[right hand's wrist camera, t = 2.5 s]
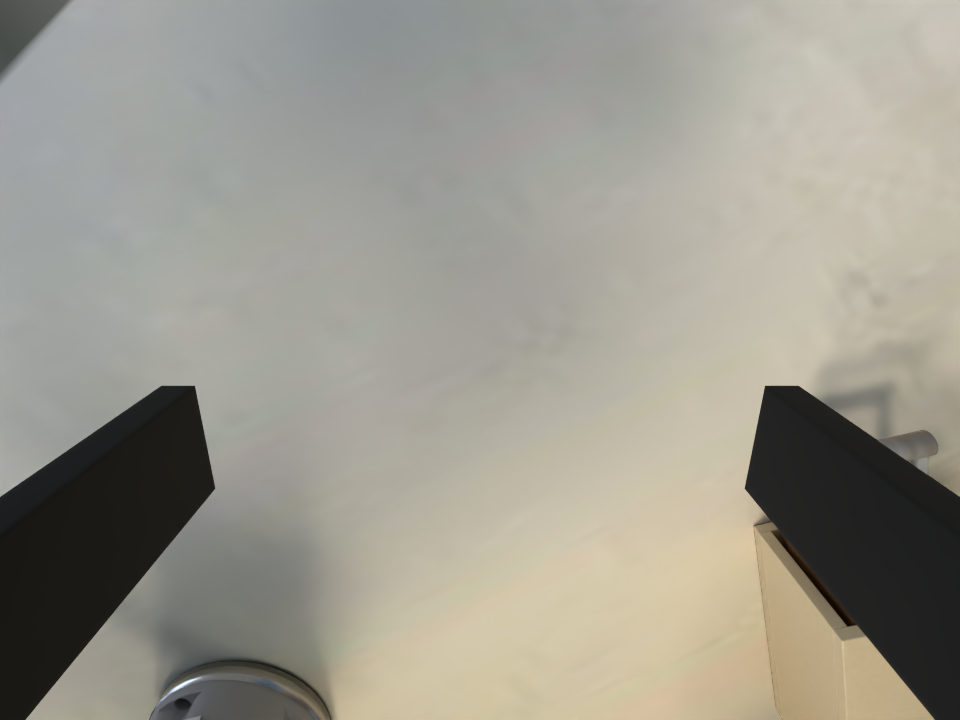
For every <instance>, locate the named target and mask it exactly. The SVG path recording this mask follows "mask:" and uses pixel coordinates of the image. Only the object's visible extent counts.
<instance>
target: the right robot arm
mask: <svg viewBox="0 0 960 720" xmlns="http://www.w3.org/2000/svg"><path fill="white" fill-rule="evenodd" d="M214 489H215V485H214V480H213V475H212V470H211V465H210V460H209V455H208V450H207V445H206V440H205V435H204V430H203V425H202V420H201V415H200V410H199V405H198V400H197V394H196V389H195V386H161V387H159V388H158V389H156V390H155V391H153V392H152V393H150V394H149V395H148V396H146V397H145V398H143V399H142V400H140V401H139V402H137V403H136V404H135V405H133V406H132V407H130V408H129V409H127V410H126V411H124V412H123V413H121V414H120V415H119V416H117V417H116V418H114V419H113V420H111V421H110V422H108V423H107V424H106V425H104V426H103V427H101V428H100V429H98V430H97V431H95V432H94V433H92V434H91V435H90V436H88V437H87V438H85V439H84V440H82V441H81V442H79V443H78V444H77V445H75V446H74V447H72V448H71V449H69V450H68V451H66V452H65V453H63V454H62V455H61V456H59V457H58V458H56V459H55V460H53V461H52V462H50V463H49V464H48V465H46V466H45V467H43V468H42V469H40V470H39V471H37V472H36V473H34V474H33V475H32V476H30V477H29V478H27V479H26V480H24V481H23V482H21V483H20V484H19V485H17V486H16V487H14V488H13V489H11V490H10V491H8V492H7V493H5V494H4V495H3V496H1V497H0V720H25V719H26V718H27V717H28V716H29V715H30V713H31V712H32V711H33V710H34V709H35V707H36V706H37V705H38V704H39V702H40V701H41V700H42V699H43V698H44V696H45V695H46V694H47V693H48V691H49V690H50V689H51V688H52V687H53V685H54V684H55V683H56V682H57V681H58V679H59V678H60V677H61V676H62V674H63V673H64V672H65V671H66V670H67V668H68V667H69V666H70V665H71V663H72V662H73V661H74V660H75V659H76V657H77V656H78V655H79V654H80V653H81V651H82V650H83V649H84V648H85V646H86V645H87V644H88V643H89V642H90V640H91V639H92V638H93V637H94V635H95V634H96V633H97V632H98V631H99V629H100V628H101V627H102V626H103V625H104V623H105V622H106V621H107V620H108V618H109V617H110V616H111V615H112V614H113V612H114V611H115V610H116V609H117V607H118V606H119V605H120V604H121V603H122V601H123V600H124V599H125V598H126V597H127V595H128V594H129V593H130V592H131V590H132V589H133V588H134V587H135V586H136V584H137V583H138V582H139V581H140V579H141V578H142V577H143V576H144V575H145V573H146V572H147V571H148V570H149V569H150V567H151V566H152V565H153V564H154V562H155V561H156V560H157V559H158V558H159V556H160V555H161V554H162V553H163V551H164V550H165V549H166V548H167V547H168V545H169V544H170V543H171V542H172V541H173V539H174V538H175V537H176V536H177V534H178V533H179V532H180V531H181V530H182V528H183V527H184V526H185V525H186V524H187V522H188V521H189V520H190V519H191V517H192V516H193V515H194V514H195V513H196V511H197V510H198V509H199V508H200V506H201V505H202V504H203V503H204V502H205V500H206V499H207V498H208V497H209V496H210V494H211V493H212V492H213V491H214ZM745 489H746V491H747V492H748V493H749V494H750V496H751V497H752V498H753V499H754V500H755V502H756V503H757V504H758V505H759V506H760V508H761V509H762V510H763V511H764V513H765V514H766V515H767V516H768V517H769V519H770V520H771V521H772V522H773V524H774V525H775V526H776V527H777V528H778V530H779V531H780V532H781V533H782V534H783V536H784V537H785V538H786V539H787V541H788V542H789V543H790V544H791V545H792V547H793V548H794V549H795V550H796V551H797V553H798V554H799V555H800V556H801V558H802V559H803V560H804V561H805V562H806V564H807V565H808V566H809V567H810V569H811V570H812V571H813V572H814V573H815V575H816V576H817V577H818V578H819V579H820V581H821V582H822V583H823V584H824V586H825V587H826V588H827V589H828V590H829V592H830V593H831V594H832V595H833V597H834V598H835V599H836V600H837V601H838V603H839V604H840V605H841V606H842V607H843V609H844V610H845V611H846V612H847V614H848V615H849V616H850V617H851V618H852V620H853V621H854V622H855V623H856V625H857V626H858V627H859V628H860V629H861V631H862V632H863V633H864V634H865V635H866V637H867V638H868V639H869V640H870V642H871V643H872V644H873V645H874V646H875V648H876V649H877V650H878V651H879V653H880V654H881V655H882V656H883V657H884V659H885V660H886V661H887V662H888V663H889V665H890V666H891V667H892V668H893V670H894V671H895V672H896V673H897V674H898V676H899V677H900V678H901V679H902V681H903V682H904V683H905V684H906V685H907V687H908V688H909V689H910V690H911V691H912V693H913V694H914V695H915V696H916V698H917V699H918V700H919V701H920V702H921V704H922V705H923V706H924V707H925V709H926V710H927V711H928V712H929V713H930V715H931V716H932V717H933V718H934V719H935V720H960V497H959V496H957V495H956V494H955V493H953V492H952V491H950V490H949V489H947V488H946V487H944V486H943V485H941V484H940V483H939V482H937V481H936V480H934V479H933V478H931V477H930V476H928V475H927V474H926V473H924V472H923V471H921V470H920V469H918V468H917V467H915V466H914V465H912V464H911V463H910V462H908V461H907V460H905V459H904V458H902V457H901V456H899V455H898V454H897V453H895V452H894V451H892V450H891V449H889V448H888V447H886V446H885V445H883V444H882V443H881V442H879V441H878V440H876V439H875V438H873V437H872V436H870V435H869V434H868V433H866V432H865V431H863V430H862V429H860V428H859V427H857V426H856V425H854V424H853V423H852V422H850V421H849V420H847V419H846V418H844V417H843V416H841V415H840V414H839V413H837V412H836V411H834V410H833V409H831V408H830V407H828V406H827V405H825V404H824V403H823V402H821V401H820V400H818V399H817V398H815V397H814V396H812V395H811V394H810V393H808V392H807V391H805V390H804V389H802V388H801V387H799V386H765V389H764V394H763V400H762V405H761V410H760V415H759V420H758V425H757V430H756V435H755V440H754V445H753V450H752V455H751V460H750V465H749V470H748V475H747V480H746V485H745ZM149 720H330V717H329V714H328V712H327V710H326V708H325V706H324V704H323V703H322V701H321V700H320V699H319V697H318V696H317V695H316V694H315V693H314V692H313V691H312V690H311V689H310V688H309V687H307V686H306V685H305V684H304V683H302V682H301V681H299V680H298V679H296V678H294V677H293V676H291V675H289V674H287V673H285V672H283V671H280V670H278V669H275V668H272V667H269V666H266V665H261V664H257V663H251V662H242V661H222V662H214V663H209V664H205V665H202V666H198V667H196V668H193V669H191V670H189V671H187V672H185V673H183V674H182V675H180V676H179V677H177V678H176V679H175V680H174V681H173V682H172V683H171V684H170V685H169V686H168V687H167V689H166V690H165V692H164V693H163V695H162V697H161V698H160V700H159V702H158V703H157V705H156V707H155V708H154V710H153V712H152V714H151V716H150V719H149Z"/></svg>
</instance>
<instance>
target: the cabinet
mask: <svg viewBox="0 0 960 720" xmlns="http://www.w3.org/2000/svg"><path fill="white" fill-rule="evenodd" d="M754 533H755V541H756V549H757V557H758V565H759V573H760V581H761V590H762V598H763V606H764V614H765V622H766V630H767V638H768V646H769V655H770V663H771V671H772V679H773V687H774V695H775V703H776V708H777V710H778V712H779V714H780V715H781V717H782V719H783V720H935V719H934V718H933V717H932V716H931V715H930V713H929V712H928V711H927V710H926V709H925V707H924V706H923V705H922V704H921V702H920V701H919V700H918V699H917V698H916V696H915V695H914V694H913V693H912V691H911V690H910V689H909V688H908V687H907V685H906V684H905V683H904V682H903V681H902V679H901V678H900V677H899V676H898V674H897V673H896V672H895V671H894V670H893V668H892V667H891V666H890V665H889V663H888V662H887V661H886V660H885V659H884V657H883V656H882V655H881V654H880V653H879V651H878V650H877V649H876V648H875V646H874V645H873V644H872V643H871V642H870V640H869V639H868V638H867V637H866V635H865V634H864V633H863V632H862V631H861V629H860V628H859V627H858V626H857V625H854V626H849V627H847V625H846V624H845V623H844V622H843V620H842V619H841V618H840V617H839V615H838V614H837V613H836V612H835V611H834V609H833V608H832V607H831V606H830V604H829V603H828V602H827V601H826V599H825V598H824V597H823V596H822V594H821V593H820V592H819V591H818V589H817V588H816V587H815V586H814V584H813V583H812V582H811V581H810V579H809V578H808V577H807V576H806V574H805V573H804V572H803V571H802V569H801V568H800V567H799V566H798V564H797V563H796V562H795V561H794V559H793V558H792V557H791V556H790V554H789V553H788V552H787V551H786V549H785V548H784V547H783V546H782V537H781V532H780V531H779V530H778V528H777V527H776V526H775V525H774V524H773V522H770V523H765V524H761V525H756V526H754Z"/></svg>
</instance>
